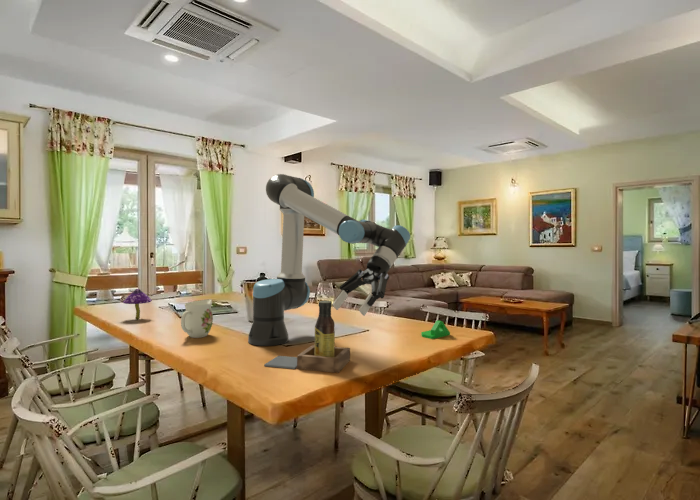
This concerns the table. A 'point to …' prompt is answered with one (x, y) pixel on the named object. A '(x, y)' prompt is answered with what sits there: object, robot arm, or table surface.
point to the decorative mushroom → (137, 300)
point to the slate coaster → (283, 362)
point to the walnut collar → (323, 360)
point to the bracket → (436, 331)
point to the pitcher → (197, 318)
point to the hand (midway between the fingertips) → (347, 310)
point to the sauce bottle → (324, 331)
